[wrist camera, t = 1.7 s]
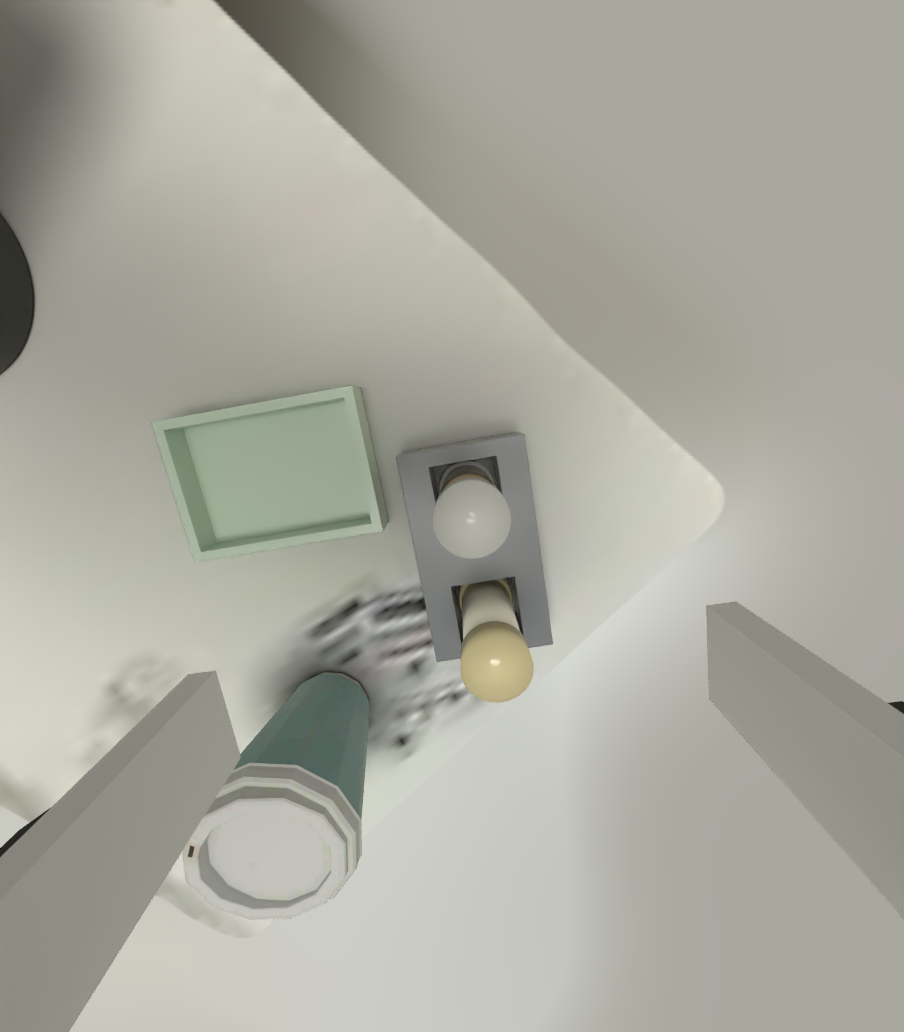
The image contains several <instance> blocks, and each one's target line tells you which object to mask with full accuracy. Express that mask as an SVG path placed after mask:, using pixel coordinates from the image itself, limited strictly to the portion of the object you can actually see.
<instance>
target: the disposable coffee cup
mask: <svg viewBox="0 0 904 1032" xmlns="http://www.w3.org/2000/svg"><path fill="white" fill-rule="evenodd" d="M368 727H369V700H368V699H367V695H366V693H365V692H364V690H363V689H362V687H361V686H360V684H359V683H358V682H357V681H355V680H354V679H352V678H350V677H348V676H346V675H345V674H343V673H329V672H323V673H321V674H319V675H317V676H315V677H313V678H311V679H308V680H307V681H305V682H303V683H302V684H301V685H300V686H299V687H298V688H297V690H296V691H295V692H294V693H293V694H292V695H291V697H290V698H289V699H288V700H287V701H286V702H285V703H284V705H283V706H282V707H281V708H280V709H279V710H278V712H277V713H276V714H275V715H274V716H273V717H272V718H271V720H270V721H269V722H268V723H267V724H266V725H265V727H264V728H263V729H262V730H261V731H260V732H259V733H258V735H257V736H256V737H255V738H254V739H253V740H252V742H251V743H250V744H249V745H248V746H247V747H246V748H245V750H244V751H243V752H242V753H241V754H240V756H241V758H240V760H239V761H238V763H237V764H236V766H235V768H234V769H233V771H232V772H231V774H230V776H229V777H228V779H227V780H226V782H225V784H224V785H223V787H222V788H221V790H220V792H219V793H218V795H217V796H216V798H215V800H214V801H213V803H212V804H211V806H210V808H209V809H208V811H207V812H206V814H205V816H204V817H203V819H202V820H201V822H200V823H199V825H198V827H197V828H196V830H195V831H194V833H193V835H192V836H191V838H190V839H189V841H188V843H187V844H186V846H185V847H184V849H183V854H182V855H183V862H184V870H185V878H186V882H187V883H188V884H189V885H190V886H191V887H192V888H193V889H194V890H195V891H196V892H197V893H198V894H199V895H200V896H201V897H202V898H203V899H204V900H205V901H206V902H207V903H209V904H210V905H211V906H212V907H214V908H217V909H220V910H223V911H226V912H229V913H232V914H235V915H238V916H241V917H244V918H247V919H250V920H256V919H288V918H293V917H295V916H298V915H300V914H302V913H304V912H306V911H309V910H311V909H313V908H316V907H318V906H320V905H323V904H325V903H327V901H328V900H330V899H333V898H334V897H335V896H336V895H337V893H338V892H339V891H340V890H341V888H342V887H343V886H344V884H345V883H346V882H347V880H348V879H349V878H350V877H351V875H352V874H353V873H354V871H355V870H356V868H357V864H358V861H359V858H360V857H361V856H362V852H361V850H362V838H361V817H362V804H363V791H364V778H365V765H366V752H367V740H368Z"/></svg>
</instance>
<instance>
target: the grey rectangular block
mask: <svg viewBox="0 0 904 1032" xmlns="http://www.w3.org/2000/svg"><path fill="white" fill-rule="evenodd" d="M491 456H493V460H494V467H495V473H496V480H497V487H498V490H499V491H500V492H501V494H502V495H503V497H504V499H505V500H506V502H507V504H508V507H509V509H510V513H511V527H510V531H509V534H508V536H507V538H506V540H505V541H504V543H503V544H502V545H501V546H500V547H499V548H498V549H497V550H496V551H494V552H493V553H491V554H489V555H487V556H484V557H481V558H474V559H471V558H463V557H459V556H456V555H454V554H452V553H451V552H449V551H448V550H446V549H445V548H444V547H443V546H442V545H441V543H440V542H439V540H438V539H437V537H436V534H435V532H434V528H433V514H434V509H435V505H436V501H437V499H438V494H437V488H436V483H435V478H434V472H433V466H439V465H445V464H451V463H456V462H462V461H468V460H474V459H479V458H485V457H491ZM396 459H397V464H398V469H399V474H400V479H401V484H402V489H403V494H404V499H405V504H406V509H407V514H408V519H409V524H410V529H411V534H412V539H413V544H414V549H415V554H416V559H417V564H418V569H419V574H420V579H421V584H422V589H423V594H424V600H425V605H426V610H427V615H428V620H429V625H430V630H431V635H432V640H433V645H434V650H435V655H436V660H437V662H440V661H446V660H453V659H459V658H461V654H460V653H461V645H462V642H463V621H461V620H460V614H459V609H458V603H457V598H456V592H455V587H454V586H458V585H465V584H471V583H477V582H483V581H490V580H496V579H502V578H508V577H511V578H512V585H513V591H514V598H515V604H516V611H517V613H515V616H516V620H517V623H518V626H519V630H520V632H521V633H522V635H523V636H524V638H525V640H526V642H527V645H528V648H531V647H538V646H544V645H551V644H553V641H552V633H551V626H550V619H549V611H548V604H547V597H546V589H545V582H544V575H543V567H542V560H541V553H540V545H539V538H538V530H537V523H536V516H535V508H534V501H533V494H532V486H531V479H530V472H529V464H528V457H527V450H526V442H525V435H524V434H521V433H518V432H514V433H509V434H503V435H497V436H492V437H486V438H480V439H474V440H469V441H463V442H457V443H451V444H446V445H440V446H434V447H429V448H423V449H417V450H411V451H406V452H402V453H401V454H399V455H398V456H396Z"/></svg>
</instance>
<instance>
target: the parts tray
mask: <svg viewBox="0 0 904 1032" xmlns="http://www.w3.org/2000/svg"><path fill="white" fill-rule="evenodd" d="M151 424H152V427H153V431H154V434H155V437H156V440H157V443H158V447H159V450H160V453H161V456H162V459H163V463H164V466H165V469H166V472H167V475H168V479H169V482H170V485H171V488H172V491H173V495H174V498H175V501H176V504H177V507H178V511H179V514H180V517H181V520H182V523H183V527H184V530H185V533H186V536H187V539H188V543H189V546H190V549H191V552H192V555H193V559H194V562H200V561H206V560H212V559H218V558H224V557H230V556H236V555H242V554H248V553H254V552H260V551H266V550H272V549H278V548H284V547H290V546H296V545H302V544H308V543H314V542H320V541H326V540H332V539H338V538H344V537H350V536H356V535H362V534H368V533H374V532H380V531H383V530H384V528H385V527H386V525H387V524H388V522H389V521H388V516H387V511H386V507H385V502H384V497H383V492H382V487H381V483H380V478H379V473H378V468H377V464H376V459H375V454H374V449H373V445H372V440H371V435H370V430H369V425H368V421H367V416H366V411H365V406H364V402H363V397H362V392H361V388H360V387H356V386H352V385H351V386H345V387H340V388H334V389H329V390H323V391H318V392H313V393H307V394H302V395H296V396H291V397H285V398H280V399H274V400H269V401H263V402H258V403H252V404H247V405H241V406H236V407H230V408H225V409H219V410H214V411H208V412H203V413H197V414H192V415H186V416H181V417H175V418H170V419H164V420H159V421H153V422H151Z"/></svg>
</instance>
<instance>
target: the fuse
mask: <svg viewBox="0 0 904 1032" xmlns="http://www.w3.org/2000/svg"><path fill="white" fill-rule="evenodd" d="M459 602H460V607H461V610H462V617H463V642H462V645H461V653H460V654H461V676H462V680H463V682H464V684H465V686H466V688H467V689H468V690H469V691H470V692H471V693H472V694H473V695H475V696H476V697H478V698H480V699H482V700H485V701H489V702H504V701H508V700H511V699H513V698H515V697H517V696H519V695H520V694H521V693H523V692H524V691H525V690H526V688H527V687H528V686H529V684H530V682H531V679H532V676H533V662H532V658H531V655H530V652H529V649H528V645H527V642H526V640H525V638H524V636H523V635H522V633H521V632H520V630H519V626H518V623H517V620H516V616H515V613H514V609H513V606H512V594H511V590H510V587H509V584H508V581H507V579H506V578H502V579H496V580H490V581H483V582H477V583H471V584H465V585H460V588H459Z"/></svg>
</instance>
